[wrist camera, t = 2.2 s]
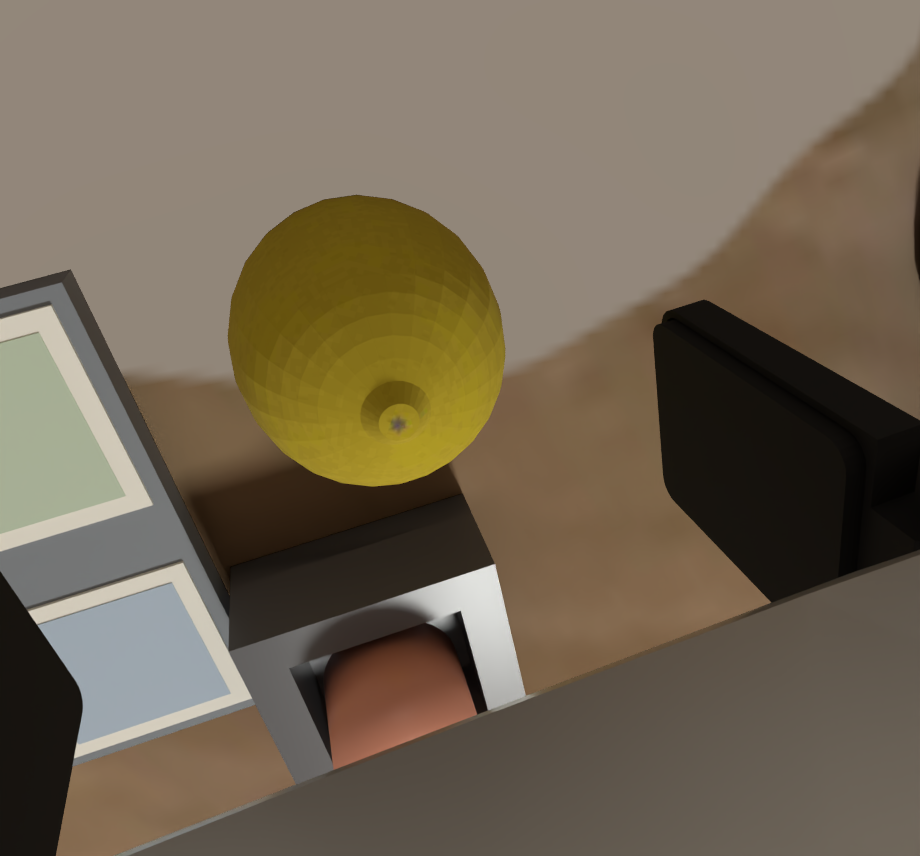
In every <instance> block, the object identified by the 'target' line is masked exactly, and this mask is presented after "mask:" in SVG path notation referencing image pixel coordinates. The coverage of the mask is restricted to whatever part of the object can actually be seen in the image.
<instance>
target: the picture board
mask: <svg viewBox="0 0 920 856" xmlns="http://www.w3.org/2000/svg"><path fill="white" fill-rule="evenodd" d="M0 571H1V573H2V574H3V576H4V577H5V579H6V580H7V582H8V583H9V585H10V586H11V587H12V589H13V590H14V592H15V593H16V595H17V596H18V598H19V599H20V601H21V602H22V604H23V605H24V606H25V608H26V609H27V611H28V612H29V614H30V615H31V617H32V618H33V620H34V621H35V622H36V624H37V625H38V627H39V628H40V630H41V631H42V633H43V634H44V636H45V637H46V639H47V640H48V641H49V643H50V644H51V646H52V647H53V649H54V650H55V652H56V653H57V655H58V656H59V657H60V659H61V660H62V662H63V663H64V665H65V666H66V668H67V669H68V671H69V672H70V674H71V675H72V676H73V678H74V679H75V681H76V682H77V684H78V686H79V689H80V691H81V695H82V700H83V713H82V718H81V723H80V729H79V734H78V739H77V745H76V750H75V755H74V760H73V766H75V765H78V764H81V763H84V762H87V761H90V760H93V759H96V758H99V757H102V756H105V755H108V754H111V753H114V752H117V751H120V750H123V749H126V748H129V747H132V746H135V745H138V744H140V743H143V742H146V741H149V740H152V739H155V738H158V737H161V736H164V735H167V734H170V733H173V732H176V731H179V730H182V729H185V728H188V727H191V726H194V725H197V724H200V723H203V722H205V721H208V720H211V719H214V718H217V717H220V716H223V715H226V714H229V713H232V712H235V711H238V710H241V709H244V708H247V707H250V706H253V705H255V703H254V701H253V699H252V697H251V695H250V693H249V691H248V689H247V687H246V685H245V683H244V681H243V679H242V678H241V676H240V674H239V672H238V670H237V668H236V666H235V664H234V662H233V660H232V658H231V656H230V654H229V652H228V646H229V609H230V597H229V595H228V592H227V590H226V588H225V586H224V584H223V582H222V580H221V578H220V576H219V574H218V572H217V570H216V568H215V566H214V564H213V562H212V560H211V557H210V555H209V553H208V551H207V549H206V547H205V545H204V543H203V541H202V539H201V537H200V535H199V533H198V531H197V529H196V527H195V524H194V522H193V520H192V518H191V516H190V514H189V512H188V510H187V508H186V506H185V504H184V502H183V500H182V498H181V496H180V494H179V492H178V489H177V487H176V485H175V483H174V481H173V479H172V477H171V475H170V473H169V471H168V469H167V467H166V465H165V463H164V461H163V459H162V456H161V454H160V452H159V450H158V448H157V446H156V444H155V442H154V440H153V438H152V436H151V434H150V432H149V430H148V428H147V426H146V424H145V421H144V419H143V417H142V415H141V413H140V411H139V409H138V407H137V405H136V403H135V401H134V399H133V397H132V395H131V393H130V391H129V388H128V386H127V384H126V382H125V380H124V378H123V376H122V374H121V372H120V370H119V368H118V366H117V364H116V362H115V360H114V358H113V356H112V353H111V352H110V349H109V348H108V345H107V343H106V341H105V339H104V337H103V335H102V333H101V331H100V329H99V327H98V325H97V323H96V321H95V319H94V316H93V314H92V312H91V311H90V308H89V306H88V304H87V302H86V300H85V298H84V296H83V294H82V292H81V290H80V288H79V286H78V284H77V282H76V279H75V277H74V275H73V273H72V271H71V270H67V271H64V272H60V273H56V274H52V275H48V276H45V277H41V278H37V279H33V280H30V281H26V282H22V283H19V284H15V285H11V286H7V287H3V288H0ZM73 766H72V767H73Z"/></svg>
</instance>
